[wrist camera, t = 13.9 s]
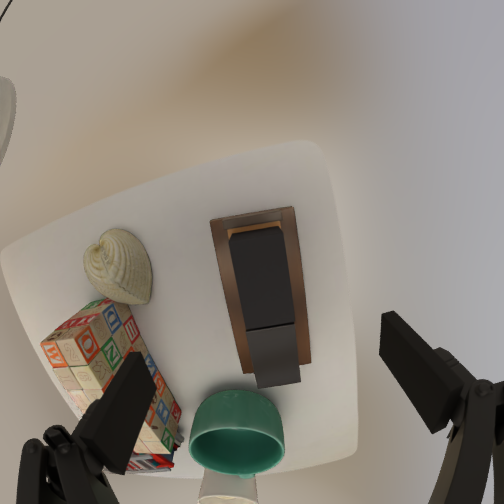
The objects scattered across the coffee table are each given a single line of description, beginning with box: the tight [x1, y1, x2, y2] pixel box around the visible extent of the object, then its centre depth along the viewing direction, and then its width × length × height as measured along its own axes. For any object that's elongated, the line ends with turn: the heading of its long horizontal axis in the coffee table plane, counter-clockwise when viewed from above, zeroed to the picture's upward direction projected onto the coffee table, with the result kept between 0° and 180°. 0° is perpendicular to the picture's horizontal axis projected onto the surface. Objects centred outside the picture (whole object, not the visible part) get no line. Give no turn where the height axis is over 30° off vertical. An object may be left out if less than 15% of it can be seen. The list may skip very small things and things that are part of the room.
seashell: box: [84, 229, 152, 305], centre depth 29 cm, size 8×8×8 cm
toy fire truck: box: [103, 431, 184, 474], centre depth 34 cm, size 9×19×10 cm, turn 124°
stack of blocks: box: [40, 298, 182, 454], centre depth 29 cm, size 21×6×12 cm, turn 16°
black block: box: [228, 226, 295, 329], centre depth 28 cm, size 9×5×4 cm, turn 10°
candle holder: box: [197, 468, 258, 504], centre depth 34 cm, size 10×10×12 cm
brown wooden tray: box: [210, 206, 311, 389], centre depth 29 cm, size 20×9×6 cm, turn 10°
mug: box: [189, 390, 285, 479], centre depth 33 cm, size 17×13×10 cm
